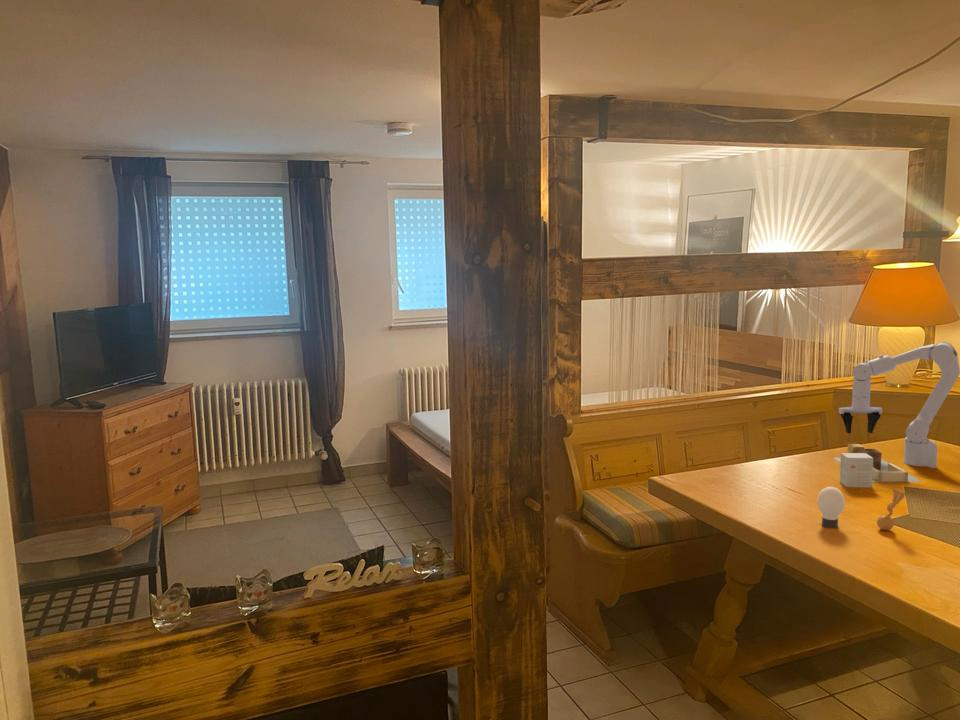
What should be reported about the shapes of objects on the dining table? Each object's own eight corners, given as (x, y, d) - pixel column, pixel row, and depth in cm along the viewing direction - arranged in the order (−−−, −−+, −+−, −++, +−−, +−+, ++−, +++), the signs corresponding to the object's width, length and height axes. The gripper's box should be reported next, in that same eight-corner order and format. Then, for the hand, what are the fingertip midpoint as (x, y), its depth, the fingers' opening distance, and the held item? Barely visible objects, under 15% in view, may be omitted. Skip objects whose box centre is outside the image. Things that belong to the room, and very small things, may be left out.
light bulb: (823, 530, 192) (825, 491, 191) (811, 521, 199) (813, 483, 198) (848, 529, 193) (850, 490, 191) (835, 520, 199) (837, 482, 198)
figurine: (878, 523, 196) (880, 482, 194) (903, 527, 193) (906, 485, 191) (875, 533, 189) (877, 490, 188) (901, 538, 186) (903, 494, 184)
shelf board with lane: (878, 459, 256) (878, 449, 255) (921, 483, 228) (922, 472, 228) (832, 459, 257) (833, 449, 256) (870, 484, 229) (871, 472, 229)
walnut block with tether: (859, 457, 256) (860, 441, 256) (880, 469, 242) (881, 452, 241) (845, 457, 257) (846, 441, 256) (865, 469, 242) (866, 452, 241)
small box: (864, 484, 229) (866, 452, 228) (872, 489, 224) (874, 457, 222) (838, 484, 230) (840, 452, 229) (845, 489, 225) (847, 457, 223)
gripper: (876, 393, 259) (874, 429, 261) (835, 394, 260) (834, 430, 262) (886, 397, 252) (884, 434, 254) (844, 398, 253) (842, 434, 255)
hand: (859, 432), depth 257 cm, fingers open, 7 cm apart
